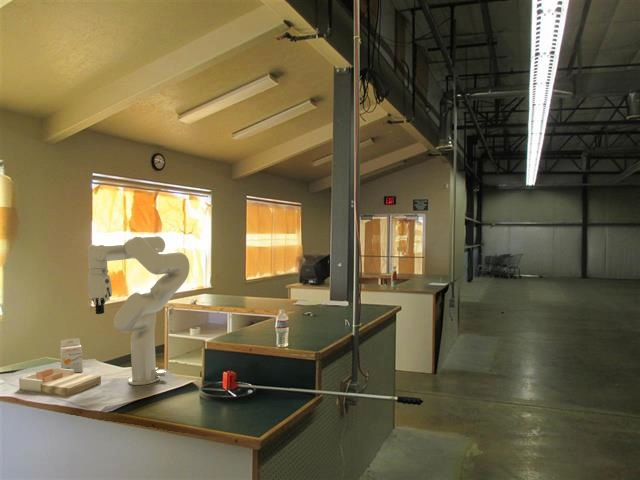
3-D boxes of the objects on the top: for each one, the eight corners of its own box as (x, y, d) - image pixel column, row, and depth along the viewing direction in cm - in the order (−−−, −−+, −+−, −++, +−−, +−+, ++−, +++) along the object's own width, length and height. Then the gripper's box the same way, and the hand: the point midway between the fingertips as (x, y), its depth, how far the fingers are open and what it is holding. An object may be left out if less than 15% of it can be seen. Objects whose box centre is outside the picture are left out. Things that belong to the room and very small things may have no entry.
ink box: (62, 375, 219) (60, 342, 219) (60, 372, 223) (59, 340, 223) (83, 371, 224) (81, 339, 223) (81, 369, 228) (80, 337, 227)
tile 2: (63, 379, 206) (62, 372, 206) (53, 383, 201) (51, 375, 202) (55, 381, 208) (53, 373, 208) (44, 384, 203) (43, 377, 203)
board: (100, 383, 205) (100, 376, 205) (68, 395, 191) (68, 388, 190) (74, 380, 211) (73, 373, 211) (40, 392, 196) (40, 384, 196)
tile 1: (51, 368, 208) (46, 369, 209) (41, 371, 203) (35, 372, 204) (54, 380, 208) (48, 380, 209) (43, 383, 203) (38, 384, 204)
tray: (74, 380, 211) (73, 369, 211) (40, 392, 196) (40, 380, 196) (53, 377, 215) (53, 367, 215) (19, 389, 200) (19, 378, 200)
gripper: (117, 271, 218) (119, 312, 218) (92, 271, 223) (93, 311, 224) (104, 273, 211) (106, 315, 211) (78, 272, 216) (80, 314, 217)
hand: (100, 313), depth 217 cm, fingers closed
